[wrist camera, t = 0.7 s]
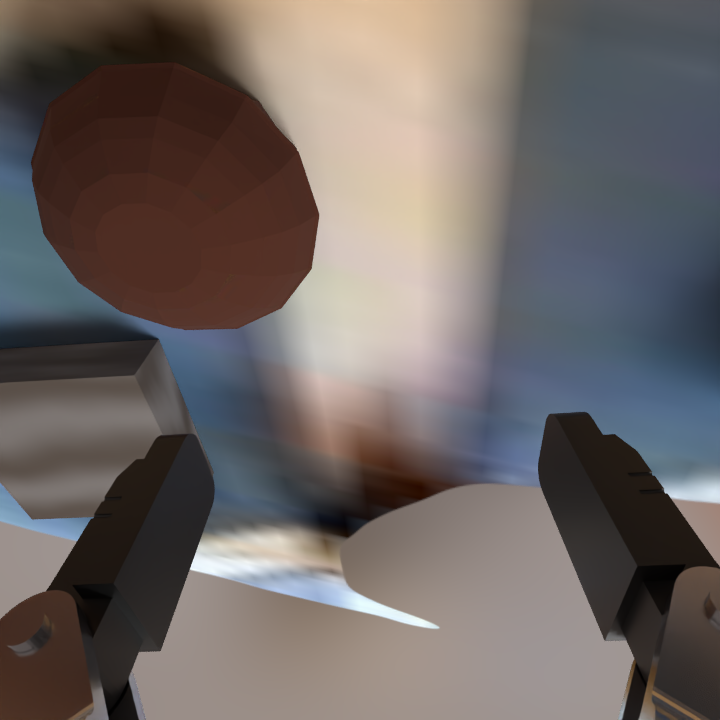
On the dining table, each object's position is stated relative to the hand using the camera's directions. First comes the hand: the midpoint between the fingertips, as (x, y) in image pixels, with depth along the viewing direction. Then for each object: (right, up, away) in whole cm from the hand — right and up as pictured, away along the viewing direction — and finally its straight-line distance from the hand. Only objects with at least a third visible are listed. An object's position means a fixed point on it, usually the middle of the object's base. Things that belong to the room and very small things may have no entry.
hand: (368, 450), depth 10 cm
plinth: (-20, -2, +25) cm, 32 cm away
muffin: (-8, +12, +14) cm, 20 cm away
